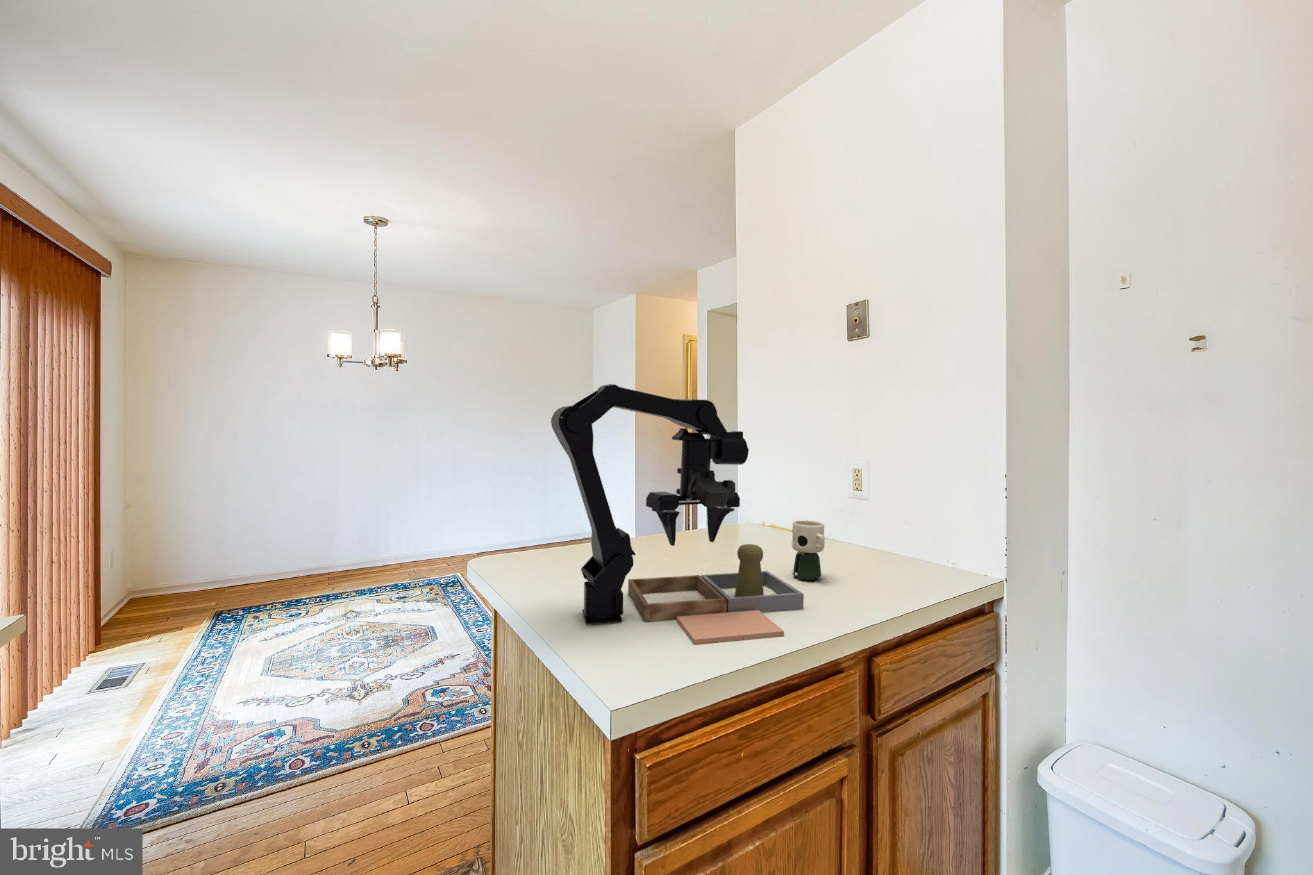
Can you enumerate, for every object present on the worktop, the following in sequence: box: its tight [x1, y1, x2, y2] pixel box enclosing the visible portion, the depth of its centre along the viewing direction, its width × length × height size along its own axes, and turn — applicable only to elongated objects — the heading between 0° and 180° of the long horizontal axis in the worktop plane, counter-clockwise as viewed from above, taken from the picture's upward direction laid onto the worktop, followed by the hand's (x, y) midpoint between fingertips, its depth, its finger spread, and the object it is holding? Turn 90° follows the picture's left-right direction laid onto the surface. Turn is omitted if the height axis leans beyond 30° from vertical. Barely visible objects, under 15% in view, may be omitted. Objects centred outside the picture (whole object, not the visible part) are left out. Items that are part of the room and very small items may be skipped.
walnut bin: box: [627, 574, 726, 623], centre depth 102 cm, size 16×16×3 cm
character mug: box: [791, 519, 826, 581], centre depth 120 cm, size 11×7×13 cm, turn 22°
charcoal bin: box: [700, 570, 805, 613], centre depth 106 cm, size 16×16×3 cm
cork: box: [734, 543, 765, 597], centre depth 106 cm, size 6×6×11 cm
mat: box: [676, 610, 785, 645], centre depth 90 cm, size 16×10×1 cm, turn 104°
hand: (692, 543), depth 101 cm, fingers open, 9 cm apart
